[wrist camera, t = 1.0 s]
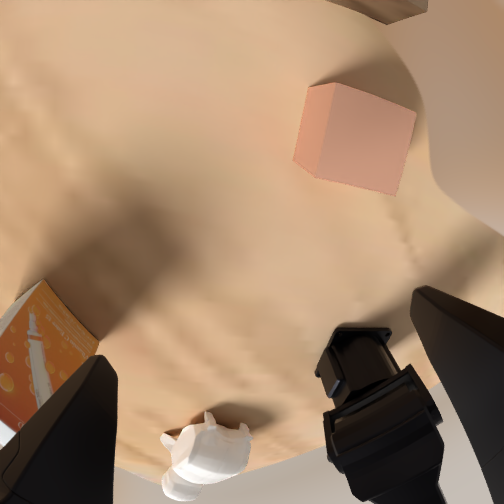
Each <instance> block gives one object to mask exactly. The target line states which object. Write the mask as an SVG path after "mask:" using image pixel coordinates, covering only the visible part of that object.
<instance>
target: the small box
mask: <svg viewBox="0 0 504 504" xmlns="http://www.w3.org/2000/svg"><path fill="white" fill-rule="evenodd" d="M98 345H99V341H98V340H97V339H96V338H94V337H93V336H92V335H91V334H90V333H89V332H88V331H87V330H86V329H85V328H84V326H83V325H82V324H81V323H80V322H79V321H78V320H77V319H76V318H75V317H74V316H73V314H72V313H71V312H70V311H69V310H68V309H67V308H66V306H65V305H64V304H63V303H62V302H61V300H60V299H59V298H58V297H57V296H56V294H55V293H54V292H53V291H52V289H51V288H50V287H49V286H48V284H47V283H46V281H45V280H44V279H42V280H41V281H40V282H38V283H37V284H36V285H35V286H33V287H32V288H31V289H30V290H28V291H27V292H26V293H25V294H23V295H22V296H21V297H20V298H19V299H17V300H16V301H15V302H14V303H13V304H12V305H11V306H10V307H9V308H8V310H7V311H6V312H5V314H4V315H3V316H2V318H1V319H0V444H2V445H3V446H5V445H6V444H7V443H8V442H9V441H10V440H11V438H12V437H13V436H14V435H15V434H16V433H17V432H18V431H19V430H20V429H21V428H22V426H23V425H24V424H25V423H26V422H27V421H28V420H29V419H30V418H31V417H32V416H33V415H34V414H35V413H36V411H37V410H38V409H39V408H40V407H41V406H42V405H43V404H44V403H45V402H46V401H47V400H48V399H49V398H50V397H51V396H52V395H53V394H54V393H55V391H56V390H57V389H58V388H59V387H60V386H61V385H62V384H63V383H64V382H65V381H66V380H67V379H68V378H69V377H70V376H71V375H72V374H73V373H74V372H75V371H76V370H77V369H78V368H79V367H80V366H81V365H82V364H83V363H84V362H85V361H86V360H87V359H88V358H89V357H90V356H93V355H95V353H96V351H97V348H98Z"/></svg>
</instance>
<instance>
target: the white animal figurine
mask: <svg viewBox="0 0 504 504" xmlns="http://www.w3.org/2000/svg"><path fill="white" fill-rule="evenodd" d="M204 419H205V422H204V423H200V424H193V425H189V426H187V427H185V428H183V429H182V432H181V433H180V436H179V437H178V439H177V438H174V437H172V436H170V435H168V434H165V433H163V434H162V435H161V437H160V440H161V442H162V443H163V445H164V446H165V447H166V448H167V449H168V450H169V451H170V452H171V458H172V466H170V467H169V469H168V470H167V471H166V472H165V473H164V475H163V477H162V487H163V492H164V493H165V495H166V496H168V497H170V498H172V499H174V500H177V501H192V500H195V499H196V498H197V497H198V495H199V493H200V491H201V489H202V487H203V484H210V483H216V482H219V481H222V480H226V479H228V478H229V477H232V476H235V475H237V474H239V473H241V472H242V471H243V470H244V469H245V467H246V466H247V463H248V459H249V453H250V448H251V443H250V440H252V439H253V437H252V435H251V434H250V433H249V428H248V427H247V425H246V424H244V423H240V426H239V427H240V428H239V429H238V430H237V429H228V428H226V427H224V426H221V425H218V424H216V421H215V419H214V417H213V415H212V413H210V412H207V411H205V412H204Z"/></svg>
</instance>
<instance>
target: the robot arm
mask: <svg viewBox="0 0 504 504" xmlns="http://www.w3.org/2000/svg"><path fill="white" fill-rule="evenodd" d="M410 317H411V320H412V322H413V324H414V326H415V328H416V331H417V333H418V335H419V337H420V340H421V342H422V344H423V347H424V349H425V351H426V354H427V356H428V358H429V360H430V362H431V364H432V366H433V368H434V370H435V371H436V373H437V375H438V377H439V379H440V381H441V383H442V385H443V386H444V388H445V390H446V392H447V394H448V396H449V398H450V400H451V402H452V404H453V406H454V408H455V410H456V412H457V414H458V416H459V419H460V421H461V423H462V425H463V427H464V429H465V431H466V434H467V436H468V438H469V441H470V443H471V445H472V447H473V449H474V452H475V455H476V457H477V459H478V462H479V464H480V467H481V470H482V472H483V475H484V478H485V480H486V483H487V485H488V488H489V491H490V494H491V497H492V500H493V502H494V504H504V318H503V317H501V316H498V315H496V314H494V313H491V312H489V311H487V310H484V309H482V308H480V307H478V306H475V305H473V304H471V303H468V302H466V301H463V300H461V299H459V298H456V297H454V296H452V295H449V294H447V293H444V292H442V291H439V290H437V289H435V288H432V287H430V286H427V285H425V286H421V287H418V288H416V289H414V291H413V294H412V300H411V307H410ZM338 333H339V334H338ZM391 334H392V331H391V330H390V329H389V328H337V329H335V330H334V332H333V334H332V336H331V338H330V340H329V343H328V345H327V347H326V348H325V350H324V352H323V354H322V356H321V358H320V360H319V362H318V365H317V368H316V370H315V376H316V377H318V378H320V377H321V380H322V383H323V386H324V389H325V392H326V395H327V397H328V398H332V399H333V402H334V405H335V409H333V410H331V411H326V412H324V413H323V417H324V421H323V424H324V432H325V440H326V448H327V459H328V461H329V462H331V463H333V464H334V465H335V467H336V468H337V470H338V471H339V472H340V473H342V474H345V475H346V478H347V480H348V483H349V486H350V489H351V492H352V494H353V495H354V496H355V497H356V498H358V499H359V500H360V501H362V502H365V501H367V500H369V501H371V502H372V503H374V504H447V502H446V499H445V497H444V494H443V492H442V490H441V488H440V485H439V483H438V481H439V476H440V471H441V465H442V459H443V453H444V442H443V440H442V438H441V436H440V434H439V431H438V430H437V427H436V426H437V425H439V424H440V423H442V422H443V419H442V417H441V414H440V412H439V410H438V408H437V406H436V404H435V402H434V400H433V398H432V396H431V395H430V393H429V391H428V390H427V388H426V387H425V385H424V383H423V382H422V380H421V379H420V377H419V376H418V374H417V373H416V371H415V370H414V368H413V367H412V365H411V364H409V365H407V366H406V367H405V369H403V370H400V368H399V366H398V364H397V363H396V361H395V359H394V358H393V356H392V354H391V352H390V351H389V349H388V347H387V346H386V343H387V342H388V340H389V338H390V336H391ZM117 403H118V377H117V374H116V372H115V370H114V369H113V367H112V366H111V365H110V363H109V362H108V360H107V359H106V357H105V356H103V355H93V356H90V357H89V358H88V359H87V360H86V361H85V362H84V363H83V364H82V365H81V366H80V367H79V368H78V369H77V370H76V371H75V372H74V373H73V374H72V375H71V376H70V377H69V378H68V379H67V380H66V381H65V382H64V383H63V384H62V385H61V386H60V387H59V388H58V389H57V390H56V391H55V393H54V394H53V395H52V396H51V397H50V398H49V399H48V400H47V401H46V402H45V403H44V404H43V405H42V406H41V407H40V408H39V409H38V410H37V411H36V413H35V414H34V415H33V416H32V417H31V418H30V419H29V420H28V421H27V422H26V423H25V424H24V425H23V426H22V428H21V429H20V430H19V431H18V432H17V433H16V434H15V435H14V436H13V437H12V438H11V440H10V441H9V442H8V443H7V444H6V445H5V446H4V447H3V448H2V449H1V450H0V504H113V480H114V460H115V446H116V434H117Z"/></svg>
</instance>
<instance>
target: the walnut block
mask: <svg viewBox="0 0 504 504" xmlns="http://www.w3.org/2000/svg"><path fill="white" fill-rule="evenodd" d="M326 1H329V2H332V3H335V4H338V5H341V6H344V7H347V8H349V9H352V10H355V11H357V12H360V13H362V14H365V15H367V16H368V17H369V18H371V19H374V20H376V21H379V22H381V23H383V24H385V25H388V24H391V23H394V22H397V21H400V20H403V19H406V18H409V17H412V16H415V15H418V14H421V13H424V12H427V6H428V0H326Z"/></svg>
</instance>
